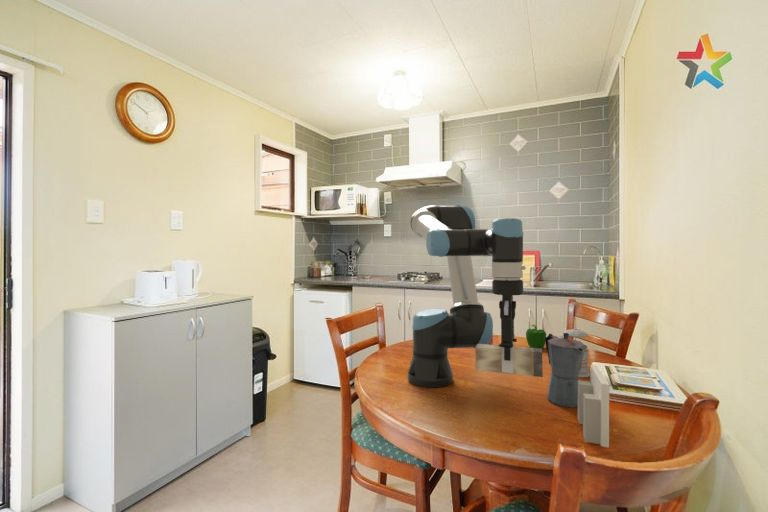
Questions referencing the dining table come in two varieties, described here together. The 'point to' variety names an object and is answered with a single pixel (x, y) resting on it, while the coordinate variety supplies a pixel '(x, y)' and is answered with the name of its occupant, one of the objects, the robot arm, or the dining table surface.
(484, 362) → the grey rectangular block
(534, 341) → the bell pepper
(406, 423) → the dining table surface
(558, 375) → the moka pot
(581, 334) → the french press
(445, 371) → the robot arm
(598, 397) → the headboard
